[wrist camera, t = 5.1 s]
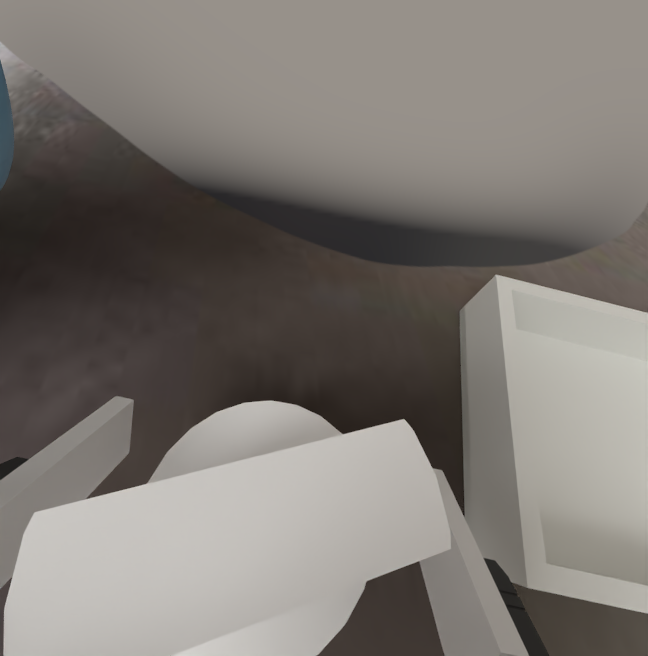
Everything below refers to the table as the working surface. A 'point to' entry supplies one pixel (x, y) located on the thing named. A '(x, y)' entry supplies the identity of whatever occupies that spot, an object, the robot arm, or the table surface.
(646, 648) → the table surface
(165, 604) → the base with upright slab
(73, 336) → the table surface
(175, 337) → the table surface
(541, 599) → the table surface
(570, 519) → the bin
